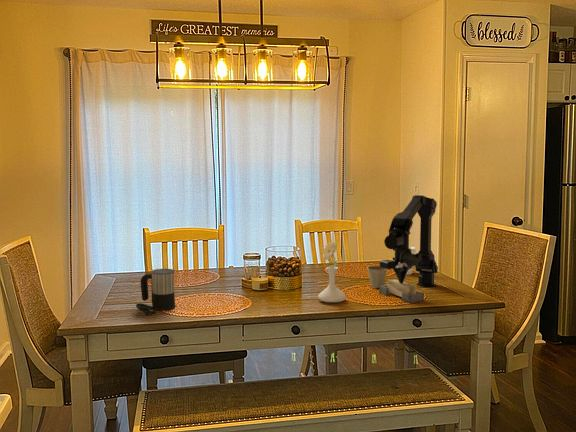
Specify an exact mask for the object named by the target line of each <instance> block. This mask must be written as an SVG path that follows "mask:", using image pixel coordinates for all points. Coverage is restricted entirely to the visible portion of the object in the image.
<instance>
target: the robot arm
mask: <svg viewBox="0 0 576 432" xmlns="http://www.w3.org/2000/svg"><path fill="white" fill-rule="evenodd" d="M437 205H438V203H437V201H436V200H435V199H434V198H433V197H432V198H430V197H427V196H425V195H419V194H417V195H416V194H415V195H413V196H412V197H411V200H410V201H409V202H408V204H407V205H406V206H405V208H404V209H403V211H401V212H398V213H397V214H395V215H394V216H393V218H392V220H391V222H390V226H389V228H388V235H387V236H386V237H385V238H384V239H383V241H384V246H385V247H386V248H387V249H388V250H392V251H393V252H394V256H393V257H392V260H390V259H382V260H380V262H379V266H380V267H382V268H386V269H388V270H392V269H393V271H394V273H395V275H396V277H397V280H398V281H399V282H400V283H403V282H405V281H404V280H405V278H406V276H407V275H406V273H407V271H408V270H409V269H410V268H412V266H413V267H415V271H416V272H419V273H418V282H417V283H416V285H418V286H421V287H422V286H423V287H424V288H428V287H435V286H437V284H436V283H435V274H438V272H439V267H438V265H437V262H436V260H435V254H434V253H433V251H432V220H433V219H432V218H433V217H434V215H435V213H436V209H437ZM416 214H418V216H419V218H420V222H419V223H420V231H419V234H420V235H419V236H420V237H419V251H418V252H417V253H416V252H415V254H412V253H411V249H409V246H410V235H411V232H410V231H411V229H412V227H413V224H414V222H413V220H414V217H415V216H416Z"/></svg>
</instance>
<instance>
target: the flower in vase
mask: <svg viewBox="0 0 576 432" xmlns="http://www.w3.org/2000/svg"><path fill="white" fill-rule="evenodd" d="M337 247H338V245H336V242H334V241H329V243H327V245H325V246H324V249H323V251H322V254H323V255H322V258H323V259H324V261H325V260H327V261H328V263H329V264H331V265H332V266H328V267H326V268H325V269H326V271H327V273H328V279H329V280H328V281H329V282H328V286H327V287H326V288H325V289H324V290H322V291H320V293H319V294H318V296H317V298H318V300H320V301H322V302H325V303H340V302H343V301H345V300H346V299H347V297H346V294H345V292H343V291H342V290H340V289H339V288H338V287H337V286H336V274H337V270H338V269H339V267H338V260H336V257H335V255H334V254H335V253H336V250H337ZM331 258H333V261H332V260H331Z"/></svg>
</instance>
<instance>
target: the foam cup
mask: <svg viewBox="0 0 576 432" xmlns="http://www.w3.org/2000/svg"><path fill="white" fill-rule="evenodd" d="M409 249H411V253H412V254H416V247H415V246H410V245H409ZM413 268H414V266H412V268H410V269H409V270H408V271H407V273H406V276H407V275H412V274H413V270H414V269H413Z"/></svg>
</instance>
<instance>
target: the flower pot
mask: <svg viewBox="0 0 576 432" xmlns="http://www.w3.org/2000/svg"><path fill="white" fill-rule="evenodd" d="M366 269H367V272H368V278H369V284H370V287H371V288H374V289H378V288H379V289H380V286H382V285H386V278H387V277H386V276H387V272H388V270H389V269H386V268H382V267H380V265H370V266H367V267H366Z"/></svg>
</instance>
